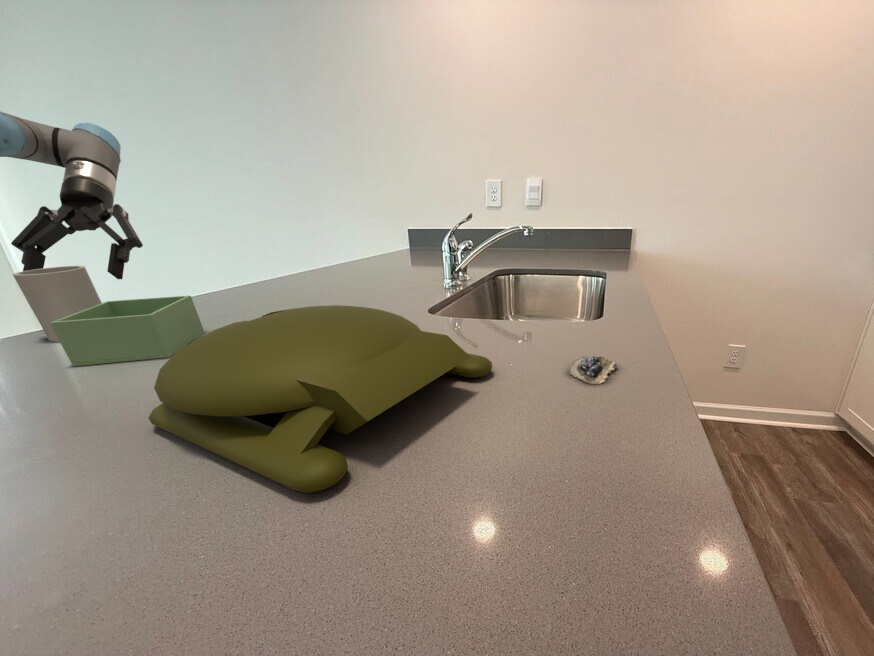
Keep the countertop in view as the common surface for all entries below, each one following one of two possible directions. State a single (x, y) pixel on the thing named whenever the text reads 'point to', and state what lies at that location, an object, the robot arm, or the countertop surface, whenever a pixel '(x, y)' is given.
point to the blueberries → (592, 369)
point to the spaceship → (299, 385)
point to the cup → (57, 293)
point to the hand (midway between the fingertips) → (73, 278)
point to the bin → (128, 330)
